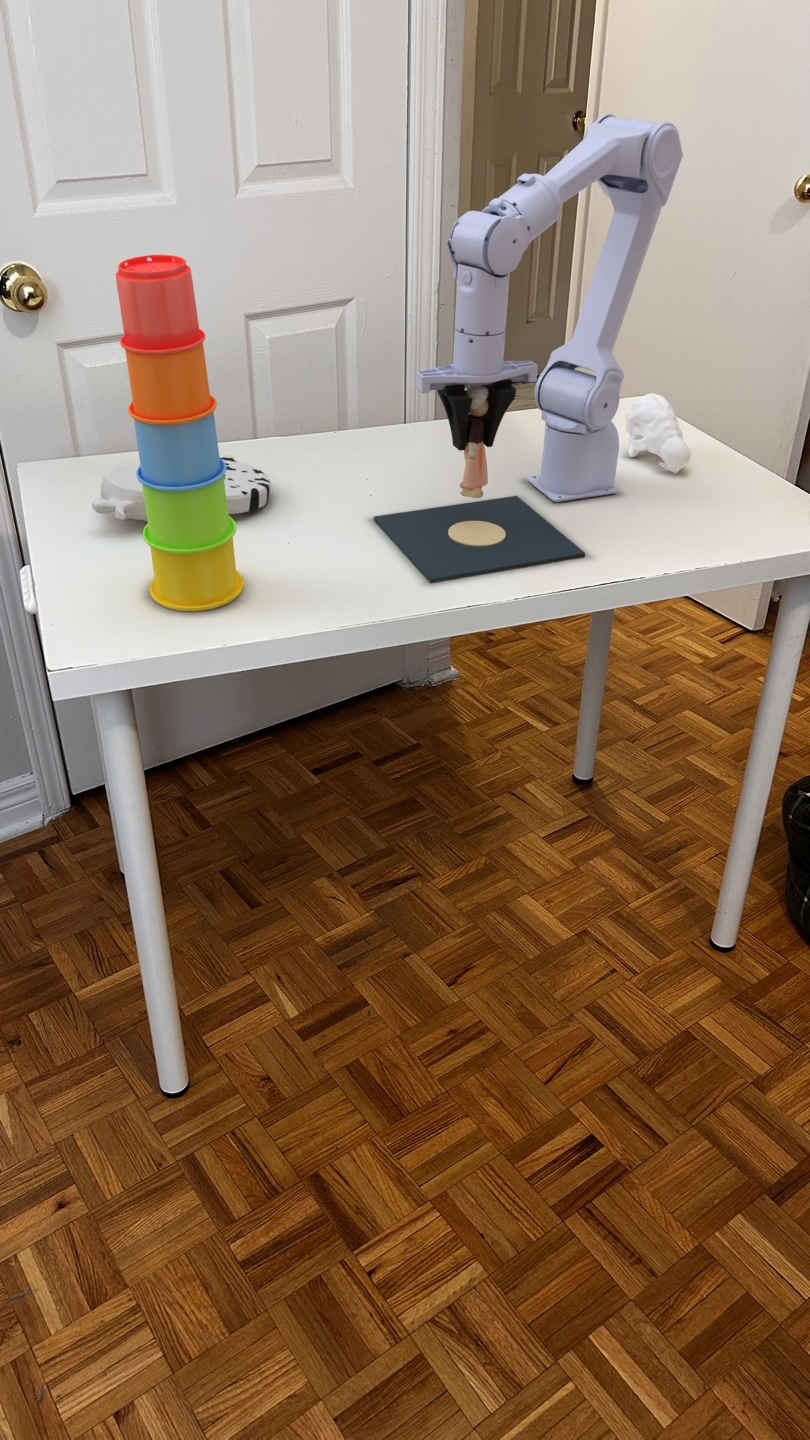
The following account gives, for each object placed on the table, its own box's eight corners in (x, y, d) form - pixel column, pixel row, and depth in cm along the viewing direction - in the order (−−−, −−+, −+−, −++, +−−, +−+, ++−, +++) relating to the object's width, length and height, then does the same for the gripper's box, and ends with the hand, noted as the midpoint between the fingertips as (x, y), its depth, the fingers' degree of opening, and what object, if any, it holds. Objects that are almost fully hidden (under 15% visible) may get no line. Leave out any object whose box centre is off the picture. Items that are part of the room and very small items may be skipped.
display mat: (516, 499, 147) (516, 494, 147) (585, 556, 133) (585, 551, 133) (373, 520, 141) (373, 514, 140) (430, 582, 127) (430, 577, 127)
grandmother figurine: (494, 501, 134) (501, 395, 127) (462, 502, 133) (468, 396, 126) (480, 476, 140) (487, 375, 133) (450, 477, 140) (455, 375, 133)
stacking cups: (242, 612, 120) (219, 272, 101) (145, 613, 120) (103, 271, 100) (245, 568, 129) (225, 247, 109) (155, 569, 128) (118, 246, 108)
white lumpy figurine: (665, 386, 159) (712, 422, 151) (653, 442, 165) (698, 479, 156) (626, 390, 157) (672, 427, 149) (615, 447, 163) (659, 485, 154)
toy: (95, 477, 149) (91, 534, 132) (95, 442, 146) (91, 495, 130) (260, 489, 154) (277, 544, 137) (263, 455, 152) (280, 508, 135)
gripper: (521, 315, 132) (512, 428, 139) (406, 324, 127) (403, 440, 135) (550, 331, 126) (539, 447, 134) (431, 341, 122) (426, 461, 129)
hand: (472, 445), depth 134 cm, fingers closed on grandmother figurine, 3 cm apart
